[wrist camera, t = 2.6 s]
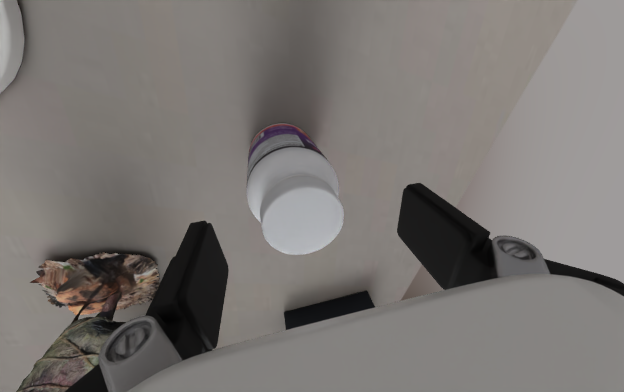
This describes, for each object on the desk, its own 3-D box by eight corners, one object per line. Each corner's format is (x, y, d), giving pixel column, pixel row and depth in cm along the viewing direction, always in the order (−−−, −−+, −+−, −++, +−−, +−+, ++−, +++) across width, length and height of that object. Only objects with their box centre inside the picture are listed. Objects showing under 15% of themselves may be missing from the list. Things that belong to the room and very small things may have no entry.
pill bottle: (319, 172, 20) (364, 244, 12) (263, 191, 20) (269, 278, 12) (304, 112, 17) (349, 154, 9) (237, 133, 17) (222, 197, 9)
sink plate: (283, 312, 30) (286, 335, 27) (367, 290, 31) (376, 310, 29) (294, 354, 36) (297, 375, 33) (362, 333, 38) (370, 353, 35)
